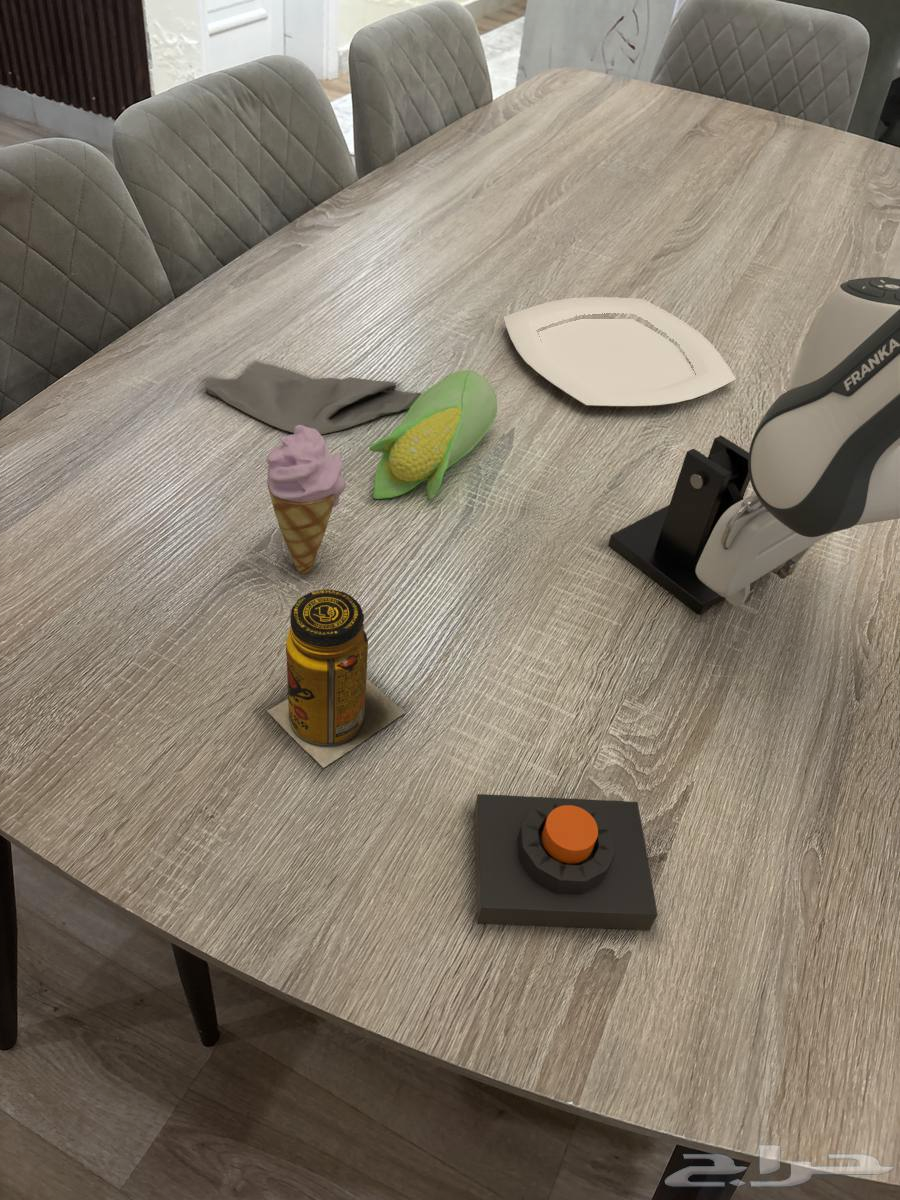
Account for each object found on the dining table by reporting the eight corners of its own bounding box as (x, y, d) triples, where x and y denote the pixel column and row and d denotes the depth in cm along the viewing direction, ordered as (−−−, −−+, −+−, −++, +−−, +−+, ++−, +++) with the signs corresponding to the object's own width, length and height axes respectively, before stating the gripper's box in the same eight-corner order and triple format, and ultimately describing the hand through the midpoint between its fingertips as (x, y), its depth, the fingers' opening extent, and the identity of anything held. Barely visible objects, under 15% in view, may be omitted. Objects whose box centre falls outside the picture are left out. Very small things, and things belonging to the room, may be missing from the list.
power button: (589, 819, 67) (594, 805, 65) (596, 865, 64) (601, 851, 63) (539, 817, 66) (543, 803, 65) (543, 863, 64) (548, 849, 62)
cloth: (183, 417, 103) (181, 400, 102) (224, 356, 113) (223, 339, 112) (416, 457, 102) (417, 439, 101) (436, 392, 112) (438, 375, 111)
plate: (576, 433, 109) (579, 419, 107) (476, 322, 126) (478, 309, 124) (759, 399, 118) (764, 385, 117) (644, 300, 135) (647, 288, 134)
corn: (528, 397, 104) (444, 491, 91) (484, 433, 110) (399, 526, 97) (478, 340, 102) (386, 428, 89) (436, 379, 108) (344, 467, 95)
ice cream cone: (334, 543, 91) (337, 410, 80) (350, 586, 87) (355, 451, 76) (265, 552, 89) (258, 417, 78) (278, 597, 85) (273, 460, 74)
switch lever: (776, 569, 87) (801, 557, 85) (755, 582, 86) (780, 570, 83) (708, 460, 89) (731, 444, 86) (687, 471, 87) (709, 455, 84)
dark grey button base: (631, 818, 71) (643, 787, 68) (649, 930, 65) (664, 901, 62) (473, 810, 70) (480, 779, 68) (477, 923, 64) (484, 894, 61)
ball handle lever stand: (763, 575, 93) (809, 471, 85) (699, 615, 88) (741, 508, 79) (672, 511, 100) (706, 408, 91) (607, 545, 94) (637, 439, 86)
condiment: (266, 712, 75) (259, 605, 67) (348, 663, 80) (351, 557, 72) (323, 770, 72) (323, 664, 63) (405, 714, 76) (416, 610, 68)
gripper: (768, 530, 71) (715, 653, 81) (908, 448, 82) (847, 565, 91) (704, 487, 75) (660, 610, 84) (847, 413, 85) (794, 530, 95)
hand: (759, 586), depth 88 cm, fingers open, 6 cm apart
